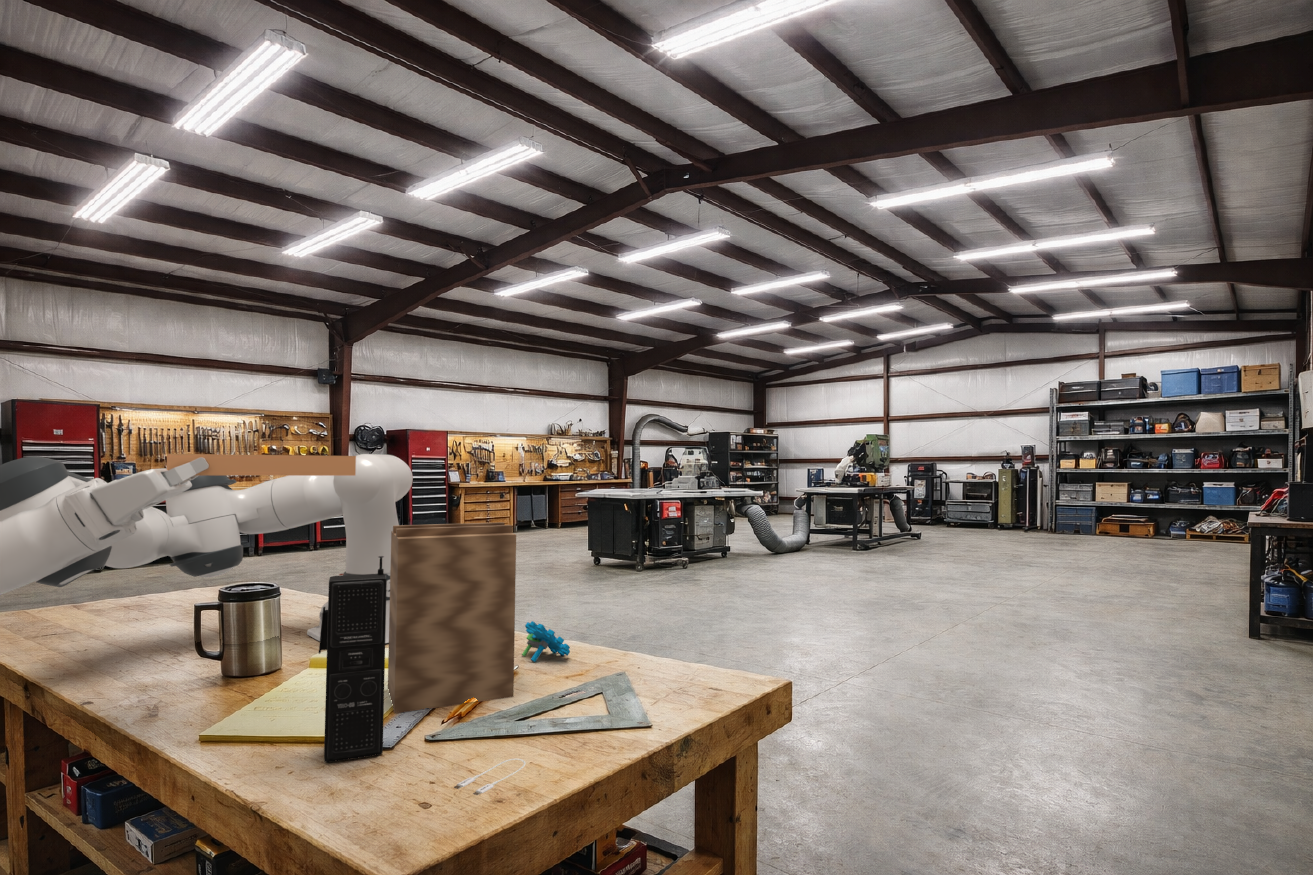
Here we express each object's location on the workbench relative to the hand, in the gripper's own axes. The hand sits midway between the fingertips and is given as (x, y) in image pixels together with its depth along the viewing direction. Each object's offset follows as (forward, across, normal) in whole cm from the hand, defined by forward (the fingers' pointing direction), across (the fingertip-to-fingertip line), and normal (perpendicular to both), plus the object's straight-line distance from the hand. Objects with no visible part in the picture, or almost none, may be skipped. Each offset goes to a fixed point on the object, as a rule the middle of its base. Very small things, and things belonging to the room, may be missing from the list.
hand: (209, 461), depth 99 cm
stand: (+11, 0, -50) cm, 51 cm away
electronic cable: (+11, +32, -50) cm, 61 cm away
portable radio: (-2, +18, -42) cm, 46 cm away
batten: (+5, 0, -5) cm, 7 cm away
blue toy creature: (+28, -13, -60) cm, 67 cm away
